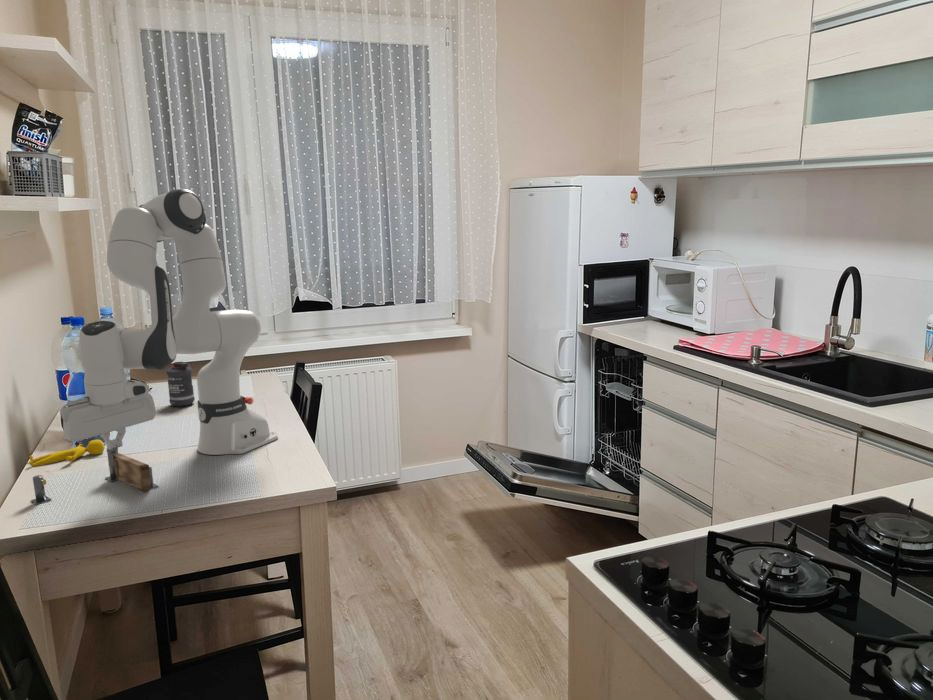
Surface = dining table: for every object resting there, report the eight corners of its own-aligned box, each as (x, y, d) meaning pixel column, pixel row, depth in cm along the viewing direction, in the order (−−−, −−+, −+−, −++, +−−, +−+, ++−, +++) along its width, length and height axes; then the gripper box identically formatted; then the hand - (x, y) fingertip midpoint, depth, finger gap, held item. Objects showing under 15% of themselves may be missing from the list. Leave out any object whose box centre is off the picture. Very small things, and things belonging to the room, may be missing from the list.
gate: (115, 478, 174) (112, 455, 173) (122, 476, 176) (119, 453, 174) (145, 491, 166) (142, 467, 165) (151, 489, 168) (148, 465, 166)
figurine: (28, 447, 191) (100, 430, 200) (32, 463, 192) (104, 445, 201) (27, 463, 180) (104, 444, 188) (32, 479, 181) (107, 459, 189)
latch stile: (45, 496, 165) (42, 473, 164) (51, 500, 163) (47, 476, 162) (31, 501, 163) (27, 477, 162) (36, 504, 161) (32, 480, 160)
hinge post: (119, 474, 179) (115, 441, 177) (126, 477, 176) (122, 444, 175) (105, 478, 176) (101, 445, 174) (111, 482, 174) (107, 448, 172)
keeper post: (152, 483, 172) (150, 464, 171) (158, 486, 170) (156, 467, 169) (139, 487, 170) (137, 468, 169) (145, 491, 168) (143, 471, 167)
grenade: (200, 403, 242) (196, 361, 239) (181, 409, 235) (177, 366, 232) (183, 400, 246) (179, 359, 243) (164, 406, 239) (160, 363, 236)
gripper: (66, 406, 151) (75, 465, 154) (155, 384, 167) (162, 437, 170) (53, 400, 155) (62, 458, 158) (142, 379, 170) (148, 432, 174)
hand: (114, 447), depth 164 cm, fingers closed
